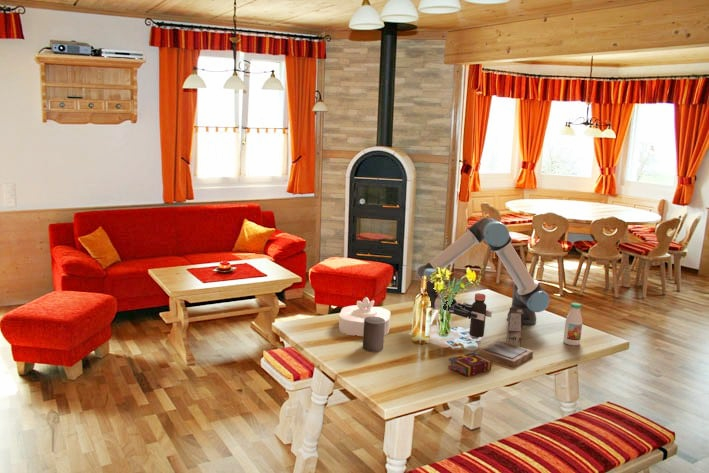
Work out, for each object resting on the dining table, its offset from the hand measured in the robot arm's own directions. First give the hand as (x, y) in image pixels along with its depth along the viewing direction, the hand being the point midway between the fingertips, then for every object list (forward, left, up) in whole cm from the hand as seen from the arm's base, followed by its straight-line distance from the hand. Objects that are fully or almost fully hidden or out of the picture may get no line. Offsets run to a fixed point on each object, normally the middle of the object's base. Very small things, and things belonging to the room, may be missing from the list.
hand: (487, 316), depth 290 cm
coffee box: (-17, +6, -16) cm, 24 cm away
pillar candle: (+40, -35, -16) cm, 55 cm away
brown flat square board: (+2, +12, -16) cm, 20 cm away
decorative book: (+27, +8, -16) cm, 33 cm away
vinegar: (0, -5, -11) cm, 12 cm away
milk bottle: (-38, +26, -16) cm, 49 cm away
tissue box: (+22, -56, -16) cm, 62 cm away
